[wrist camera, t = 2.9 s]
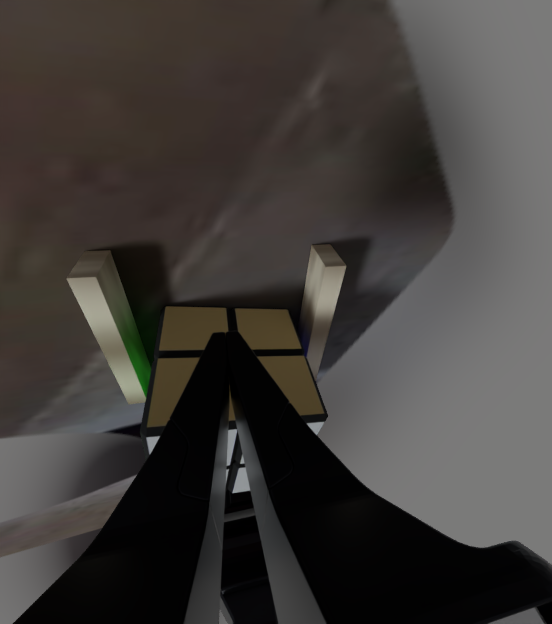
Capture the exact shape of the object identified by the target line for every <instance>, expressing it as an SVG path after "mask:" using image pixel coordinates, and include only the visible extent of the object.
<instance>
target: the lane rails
mask: <svg viewBox="0 0 552 624" xmlns="http://www.w3.org/2000/svg"><path fill="white" fill-rule="evenodd" d="M345 270H346V265H345V263H344V262H343V261H342V259H341V258H340V257H339V255H338V254H337V253H336V251H335V250H334V249H333V247H332V246H331V244H324V245H312V246H311V252H310V258H309V264H308V270H307V277H306V283H305V289H304V295H303V301H302V307H301V313H300V319H299V325H298V331H297V332H298V334H299V337H300V340H301V342H302V345H303V348H304V350H305V353H304V355H303V356H305V357H306V358H307V359H308V362H309V365H310V367H311V370H312V373H313V376H314V378H315V381H316V378H317V375H318V371H319V367H320V363H321V360H322V356H323V352H324V348H325V345H326V341H327V337H328V333H329V330H330V326H331V322H332V318H333V315H334V311H335V307H336V303H337V300H338V296H339V292H340V288H341V285H342V281H343V277H344V273H345ZM67 280H68V282H69V284H70V287H71V289H72V291H73V293H74V295H75V297H76V299H77V301H78V303H79V305H80V307H81V309H82V311H83V313H84V315H85V317H86V319H87V321H88V323H89V325H90V327H91V329H92V331H93V333H94V335H95V337H96V339H97V341H98V343H99V345H100V347H101V349H102V351H103V353H104V355H105V357H106V359H107V361H108V363H109V365H110V367H111V369H112V371H113V373H114V375H115V377H116V379H117V381H118V383H119V385H120V387H121V389H122V391H123V393H124V395H125V397H126V399H127V401H128V403H129V404H135V403H143V402H146V396H147V390H148V385H149V379H150V374H151V366H150V363H149V360H148V358H147V355H146V352H145V349H144V346H143V343H142V340H141V337H140V335H139V332H138V329H137V326H136V323H135V320H134V317H133V315H132V312H131V309H130V306H129V303H128V300H127V297H126V294H125V292H124V289H123V286H122V283H121V280H120V277H119V274H118V271H117V269H116V266H115V263H114V260H113V257H112V254H111V251H110V250H107V251H85V252H84V253H83V255H82V256H81V258H80V259H79V260H78V262H77V263H76V265H75V266H74V268H73V269H72V271H71V272H70V274H69V275H68V277H67Z"/></svg>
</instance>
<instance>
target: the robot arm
mask: <svg viewBox="0 0 552 624" xmlns="http://www.w3.org/2000/svg"><path fill="white" fill-rule="evenodd" d="M229 386H230V388H229ZM230 396H231V401H232V406H233V411H234V416H235V420H236V425H237V430H238V434H239V439H240V444H241V449H242V453H243V458H244V463H245V468H246V472H247V477H248V482H249V486H250V491H244V492H238V493H231V492H230V491H229V490H228V489H227V491H226V492H225V488H226V468H227V448H228V428H229V408H230ZM289 402H290V401H289V400H288V398H287V397H286V396H285V394H284V393H283V391H282V390H281V389H280V387H279V386H278V385H277V383H276V382H275V381H274V379H273V378H272V376H271V375H270V374H269V372H268V371H267V370H266V368H265V367H264V365H263V364H262V363H261V361H260V360H259V359H258V357H257V356H256V355H255V353H254V352H253V350H252V349H251V348H250V346H249V345H248V344H247V342H246V341H245V339H244V338H243V337H242V335H241V334H240V333H239V332H238V331H227V332H226V334H225V332H214V333H212V335H211V337H210V339H209V341H208V343H207V345H206V347H205V349H204V351H203V353H202V355H201V357H200V359H199V361H198V363H197V365H196V366H195V368H194V370H193V372H192V374H191V376H190V378H189V380H188V382H187V384H186V386H185V388H184V390H183V392H182V394H181V396H180V398H179V400H178V402H177V404H176V406H175V408H174V410H173V412H172V414H171V416H170V420H168V422H167V424H166V426H165V428H164V430H163V432H162V434H161V435H160V437H159V439H158V441H157V443H156V445H155V446H154V448H153V450H152V452H151V453H150V455H149V457H148V458H147V460H146V462H145V463H144V465H143V467H142V468H141V470H140V471H139V473H138V474H137V476H136V477H135V479H134V480H133V482H132V484H131V485H130V487H129V488H128V490H127V491H126V493H125V494H124V496H123V497H122V499H121V500H120V502H119V504H118V505H117V507H116V508H115V510H114V511H113V513H112V514H111V516H110V517H109V519H108V520H107V522H106V523H105V525H104V526H103V528H102V529H101V531H100V532H99V534H98V535H97V536H96V538H95V539H94V540H93V542H92V543H91V544H90V546H89V547H88V548H87V549H86V551H85V552H84V553H83V554H82V555H81V556H80V557H79V558H78V559H77V561H75V562H74V564H72V566H71V567H69V569H67V570H66V571H65V572H64V573H63V574H62V575H61V576H60V577H59V578H58V579H57V580H56V581H55V582H54V583H53V584H52V585H51V586H50V587H49V588H48V589H47V590H46V591H45V592H44V593H43V594H42V595H41V596H40V597H39V598H38V599H37V600H36V601H35V602H34V603H33V604H32V605H31V606H30V607H29V608H28V609H27V610H26V611H25V612H24V613H23V614H22V615H21V616H20V617H19V618H18V619H17V620H16V621H15V622H14V623H13V624H219V609H221V612H222V613H223V615H224V617H225V619H226V621H227V623H228V624H552V565H551V564H550V563H548V562H547V561H546V560H545V559H543V558H542V557H540V556H539V555H537V554H536V553H534V552H533V551H532V550H530V549H529V548H527V547H526V546H524V545H523V544H521V543H520V542H518V541H508V542H504V543H501V544H497V545H494V546H490V547H486V548H478V547H472V546H468V545H465V544H463V543H460V542H457V541H456V540H453V539H452V538H450V537H448V536H446V535H444V534H442V533H441V532H439V531H438V530H436V529H434V528H433V527H431V526H429V525H428V524H426V523H424V522H422V521H421V520H419V519H417V518H416V517H414V516H412V515H411V514H409V513H407V512H406V511H404V510H402V509H401V508H399V507H397V506H395V505H393V504H392V503H390V502H389V501H387V500H385V499H384V498H382V497H380V496H378V495H377V494H375V493H374V492H373V491H371V490H370V489H369V488H367V487H366V486H365V485H364V484H363V483H362V482H360V481H359V480H358V479H357V478H356V477H355V476H354V475H353V474H352V473H351V472H350V470H349V469H348V468H347V467H346V466H345V465H344V464H343V463H342V462H341V461H340V460H339V459H338V458H337V457H336V456H335V455H334V453H332V451H331V450H330V449H329V448H328V447H327V446H326V445H325V444H324V443H323V442H322V441H321V439H320V438H319V437H318V436H317V435H316V434H315V433H314V432H313V430H312V429H311V428H310V427H309V426H308V425H307V423H306V422H305V421H304V420H303V418H302V417H301V416H300V414H299V413H298V412H297V410H296V409H295V408H294V406H293V405H292V404H291V403H289Z"/></svg>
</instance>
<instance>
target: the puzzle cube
mask: <svg viewBox="0 0 552 624" xmlns="http://www.w3.org/2000/svg"><path fill="white" fill-rule="evenodd" d="M227 331H238V332H239V333H240V334H241V335H242V337H243V338H244V339H245V341H246V342H247V344H248V345H249V346H250V348H251V349H252V350H253V352H254V353H255V355H256V356H257V357H258V359H259V360H260V361H261V363H262V364H263V365H264V367H265V368H266V370H267V371H268V372H269V374H270V375H271V376H272V378H273V379H274V381H275V382H276V383H277V385H278V386H279V387H280V389H281V390H282V391H283V393H284V394H285V396H286V397H287V398H288V400H289V401H290V402H289V403H291V404H292V405H293V406H294V408H295V409H296V410H297V412H298V413H299V414H300V416H301V417H302V418H303V420H304V421H305V422H306V423H307V425H308V426H309V427H310V428H311V429H312V430H313V432H314V433H315V434H316V435H318V433H319V431H320V429H321V428H322V426H323V424H324V422H325V421H326V419H327V417H328V414H327V411H326V409H325V406H324V403H323V401H322V398H321V395H320V392H319V390H318V387H317V384H316V381H315V378H314V376H313V373H312V370H311V367H310V365H309V362H308V359H307V358H306V357H305V356H303V355H304V353H305V350H304V348H303V345H302V342H301V340H300V337H299V334H298V332H297V329H296V326H295V323H294V321H293V318H292V315H291V313H290V311H289V310H288V309H247V308H234V309H233V310H231V311H229V310H228V309H227V308H214V307H173V306H166V307H164V308H163V309H161V315H160V321H159V326H158V332H157V338H156V344H155V350H154V361H153V363H152V368H151V374H150V379H149V385H148V390H147V396H146V402H145V407H144V413H143V418H142V424H141V429H140V434H141V439H142V443H143V448H144V453H145V458H146V460H147V458H148V457H149V455H150V453H151V452H152V450H153V448H154V446H155V445H156V443H157V441H158V439H159V437H160V435H161V434H162V432H163V430H164V428H165V426H166V424H167V422H168V420H170V416H171V414H172V412H173V410H174V408H175V406H176V404H177V402H178V400H179V398H180V396H181V394H182V392H183V390H184V388H185V386H186V384H187V382H188V380H189V378H190V376H191V374H192V372H193V370H194V368H195V366H196V365H197V363H198V361H199V359H200V357H201V355H202V353H203V351H204V349H205V347H206V345H207V343H208V341H209V339H210V337H211V335H212V333H214V332H225V334H226V332H227ZM229 388H230V386H229ZM227 489H228V490H229V491H230V492H231V493H238V492H244V491H250V486H249V482H248V477H247V472H246V468H245V463H244V458H243V453H242V449H241V444H240V439H239V434H238V430H237V425H236V420H235V416H234V411H233V406H232V401H231V396H230V408H229V428H228V448H227V468H226V488H225V492H226V491H227Z"/></svg>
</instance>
